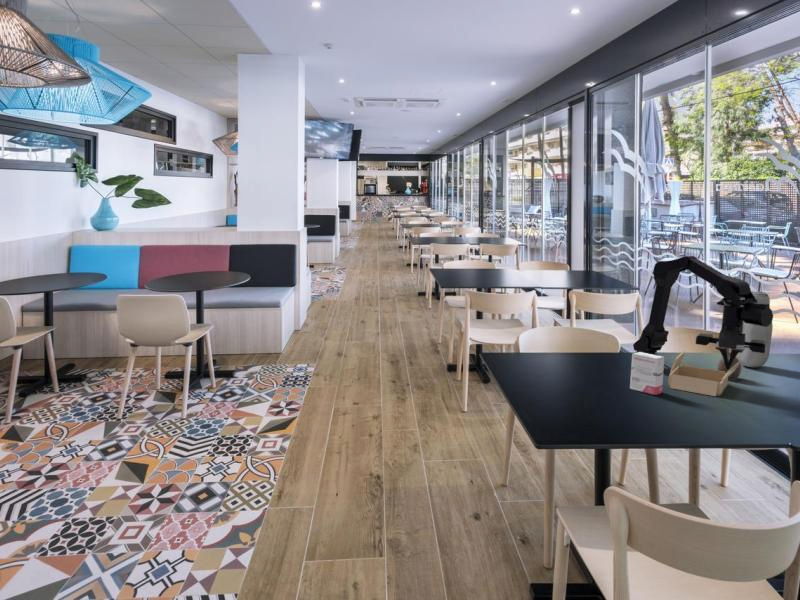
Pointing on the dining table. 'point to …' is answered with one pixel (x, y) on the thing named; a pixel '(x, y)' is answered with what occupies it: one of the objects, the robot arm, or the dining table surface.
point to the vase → (723, 368)
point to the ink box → (647, 373)
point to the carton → (698, 380)
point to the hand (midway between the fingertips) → (727, 369)
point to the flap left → (677, 361)
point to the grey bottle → (756, 338)
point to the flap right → (730, 371)
